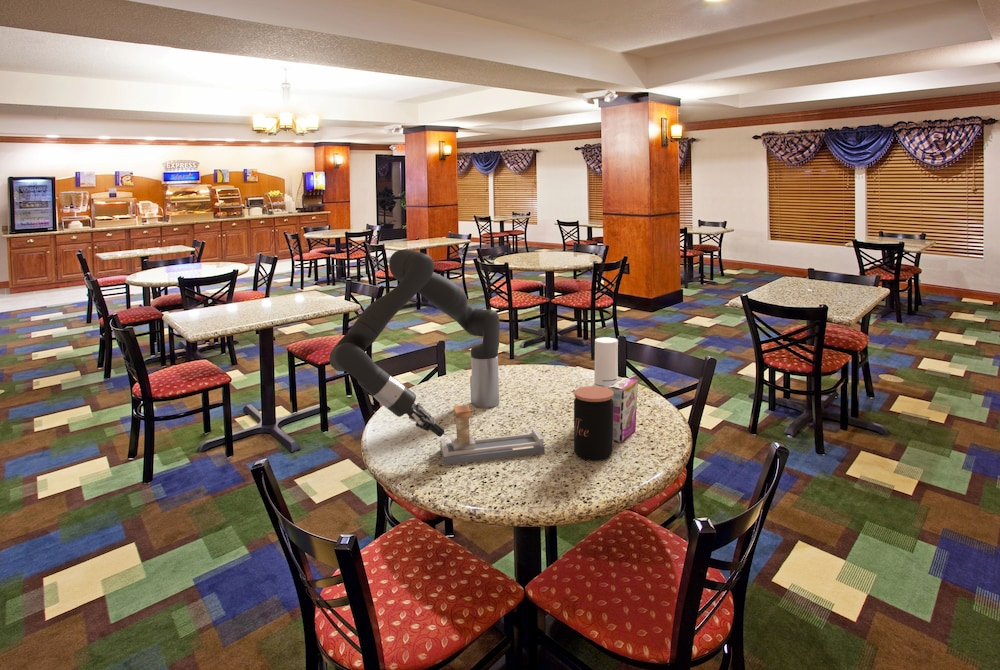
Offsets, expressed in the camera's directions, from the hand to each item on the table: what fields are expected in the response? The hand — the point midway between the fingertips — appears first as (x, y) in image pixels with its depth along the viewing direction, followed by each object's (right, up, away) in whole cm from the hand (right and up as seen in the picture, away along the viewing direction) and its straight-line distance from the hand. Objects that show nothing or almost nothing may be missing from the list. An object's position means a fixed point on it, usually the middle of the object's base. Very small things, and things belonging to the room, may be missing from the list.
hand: (442, 433), depth 166 cm
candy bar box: (+52, -3, +14) cm, 54 cm away
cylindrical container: (+50, +1, +30) cm, 59 cm away
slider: (+6, -4, +2) cm, 8 cm away
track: (+14, -6, +4) cm, 16 cm away
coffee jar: (+42, -6, +2) cm, 42 cm away
